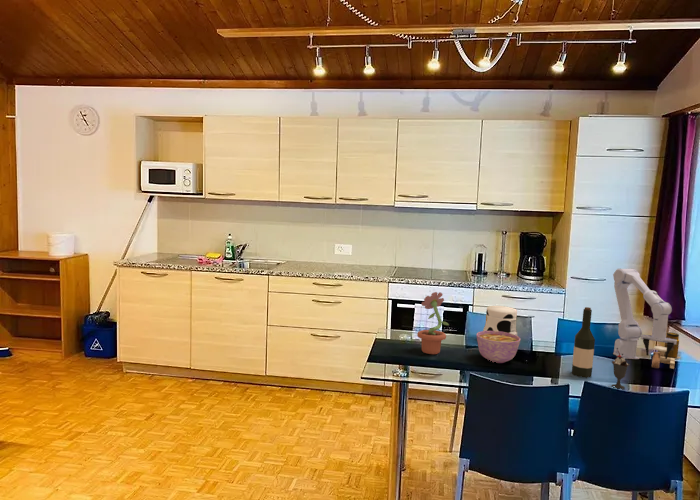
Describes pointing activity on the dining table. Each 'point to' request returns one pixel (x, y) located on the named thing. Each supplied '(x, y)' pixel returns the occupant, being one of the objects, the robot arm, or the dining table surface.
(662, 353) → the bobbin
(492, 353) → the bowl of food
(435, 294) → the decorative flower
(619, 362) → the sundae
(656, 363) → the copper peg
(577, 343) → the wine bottle
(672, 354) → the condiment
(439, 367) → the dining table surface
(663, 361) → the notched board
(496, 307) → the milk container
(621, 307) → the robot arm
